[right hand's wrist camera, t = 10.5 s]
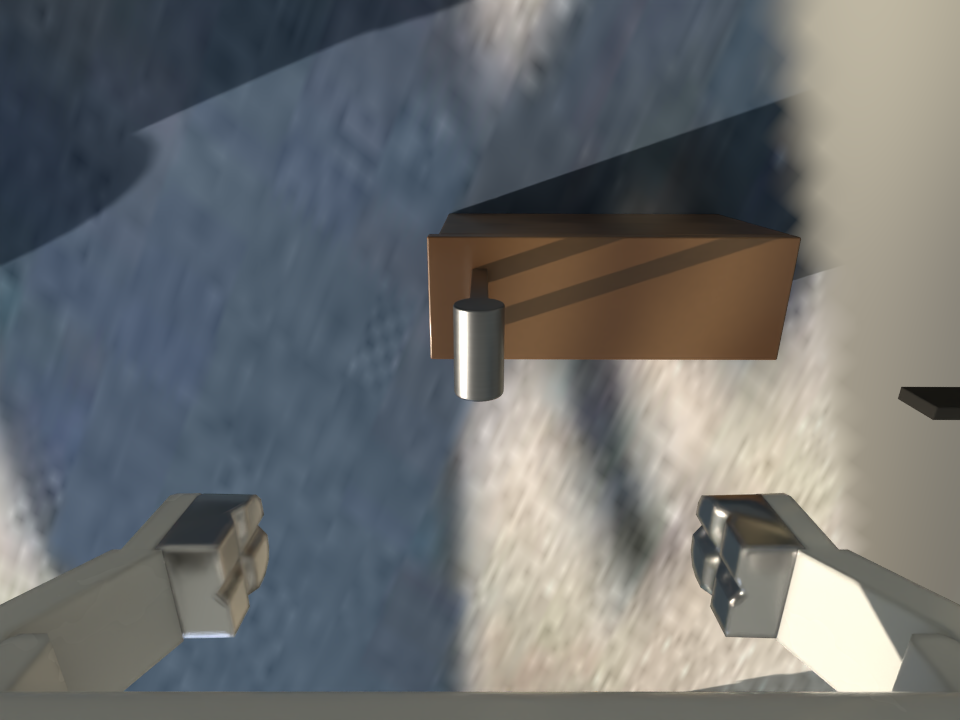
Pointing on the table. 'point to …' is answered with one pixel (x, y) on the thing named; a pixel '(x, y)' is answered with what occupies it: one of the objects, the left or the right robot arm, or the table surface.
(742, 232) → the chest
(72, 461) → the table surface
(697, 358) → the lid
